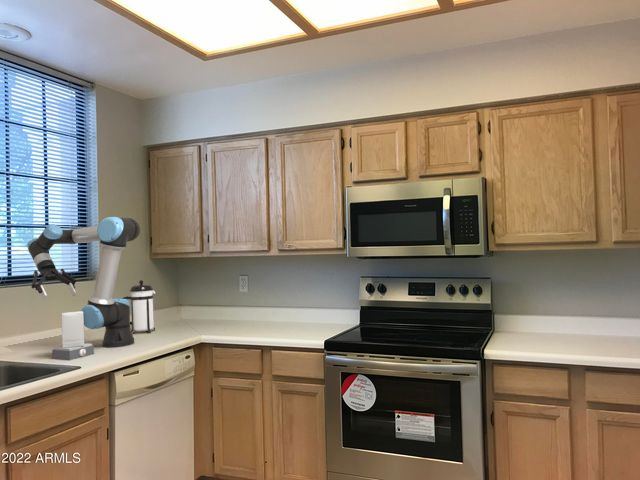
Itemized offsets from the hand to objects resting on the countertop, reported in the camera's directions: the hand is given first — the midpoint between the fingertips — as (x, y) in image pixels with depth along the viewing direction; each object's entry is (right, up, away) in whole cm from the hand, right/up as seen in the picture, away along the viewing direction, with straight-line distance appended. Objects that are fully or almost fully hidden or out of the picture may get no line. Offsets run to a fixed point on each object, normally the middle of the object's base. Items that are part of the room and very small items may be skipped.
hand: (60, 295), depth 243 cm
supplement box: (+11, -22, -9) cm, 26 cm away
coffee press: (+20, -27, +52) cm, 62 cm away
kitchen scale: (+11, -26, -10) cm, 30 cm away
